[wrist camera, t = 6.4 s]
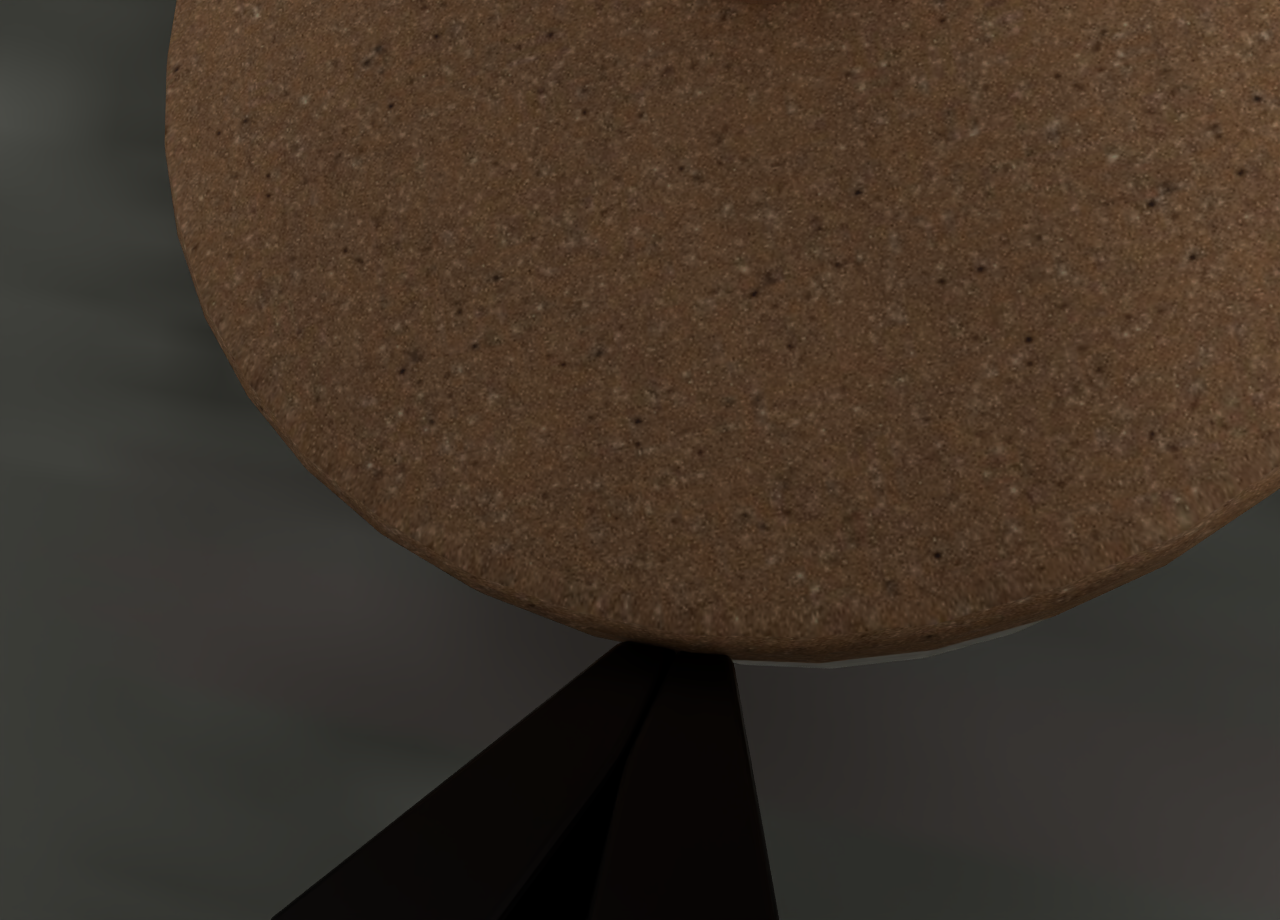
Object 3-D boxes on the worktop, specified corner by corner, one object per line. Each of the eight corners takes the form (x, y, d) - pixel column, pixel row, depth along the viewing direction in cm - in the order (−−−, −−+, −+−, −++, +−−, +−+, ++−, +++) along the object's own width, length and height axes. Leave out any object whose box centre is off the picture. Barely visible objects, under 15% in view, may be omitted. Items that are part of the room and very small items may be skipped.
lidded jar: (1116, -103, 17) (1335, -1027, 8) (1374, 622, 14) (2145, 359, 5) (425, 95, 19) (5, -503, 10) (519, 783, 16) (30, 787, 7)
